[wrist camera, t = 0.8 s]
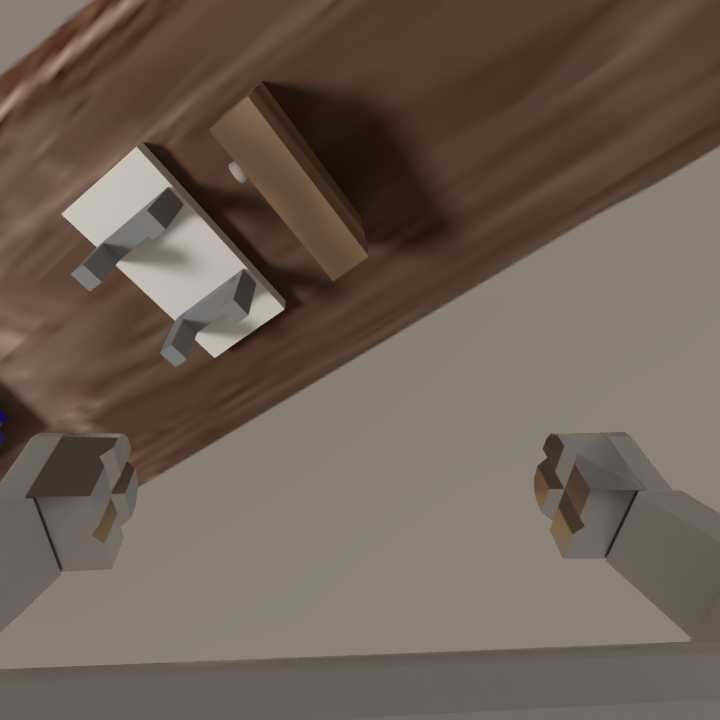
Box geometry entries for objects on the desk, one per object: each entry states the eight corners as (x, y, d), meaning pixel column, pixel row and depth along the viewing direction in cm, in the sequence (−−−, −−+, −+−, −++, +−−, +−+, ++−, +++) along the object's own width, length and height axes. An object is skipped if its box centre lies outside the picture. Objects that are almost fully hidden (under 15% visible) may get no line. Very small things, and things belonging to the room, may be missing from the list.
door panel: (261, 81, 37) (247, 96, 30) (361, 217, 42) (368, 256, 36) (218, 117, 38) (196, 140, 31) (322, 246, 44) (321, 288, 37)
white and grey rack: (142, 142, 38) (110, 165, 32) (285, 301, 46) (280, 343, 40) (69, 208, 41) (26, 240, 35) (217, 348, 48) (202, 395, 42)
